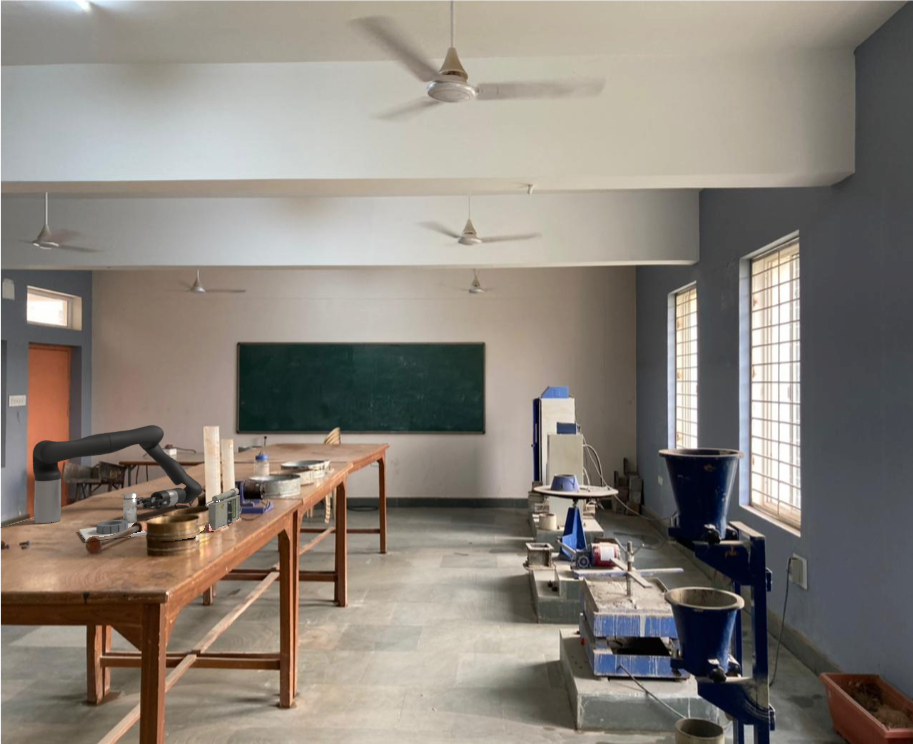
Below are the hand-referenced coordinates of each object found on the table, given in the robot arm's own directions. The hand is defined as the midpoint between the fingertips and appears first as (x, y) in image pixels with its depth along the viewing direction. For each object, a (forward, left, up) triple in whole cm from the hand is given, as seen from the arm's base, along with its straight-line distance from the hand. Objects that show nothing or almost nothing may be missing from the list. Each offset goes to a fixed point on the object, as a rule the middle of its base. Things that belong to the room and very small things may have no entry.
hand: (135, 505), depth 276 cm
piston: (-2, -2, -7) cm, 7 cm away
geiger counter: (+29, -28, -7) cm, 40 cm away
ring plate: (-11, -18, -6) cm, 22 cm away
